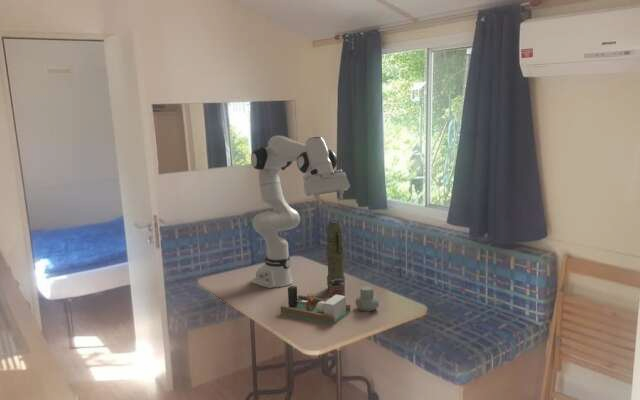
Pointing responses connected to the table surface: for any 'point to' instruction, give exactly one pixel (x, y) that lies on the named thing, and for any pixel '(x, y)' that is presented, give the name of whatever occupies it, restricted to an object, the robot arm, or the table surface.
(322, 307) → the ball
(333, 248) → the thermos
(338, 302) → the pitch
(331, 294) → the lighter
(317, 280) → the table surface
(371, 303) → the air freshener
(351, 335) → the table surface
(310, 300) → the rod
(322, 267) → the table surface
